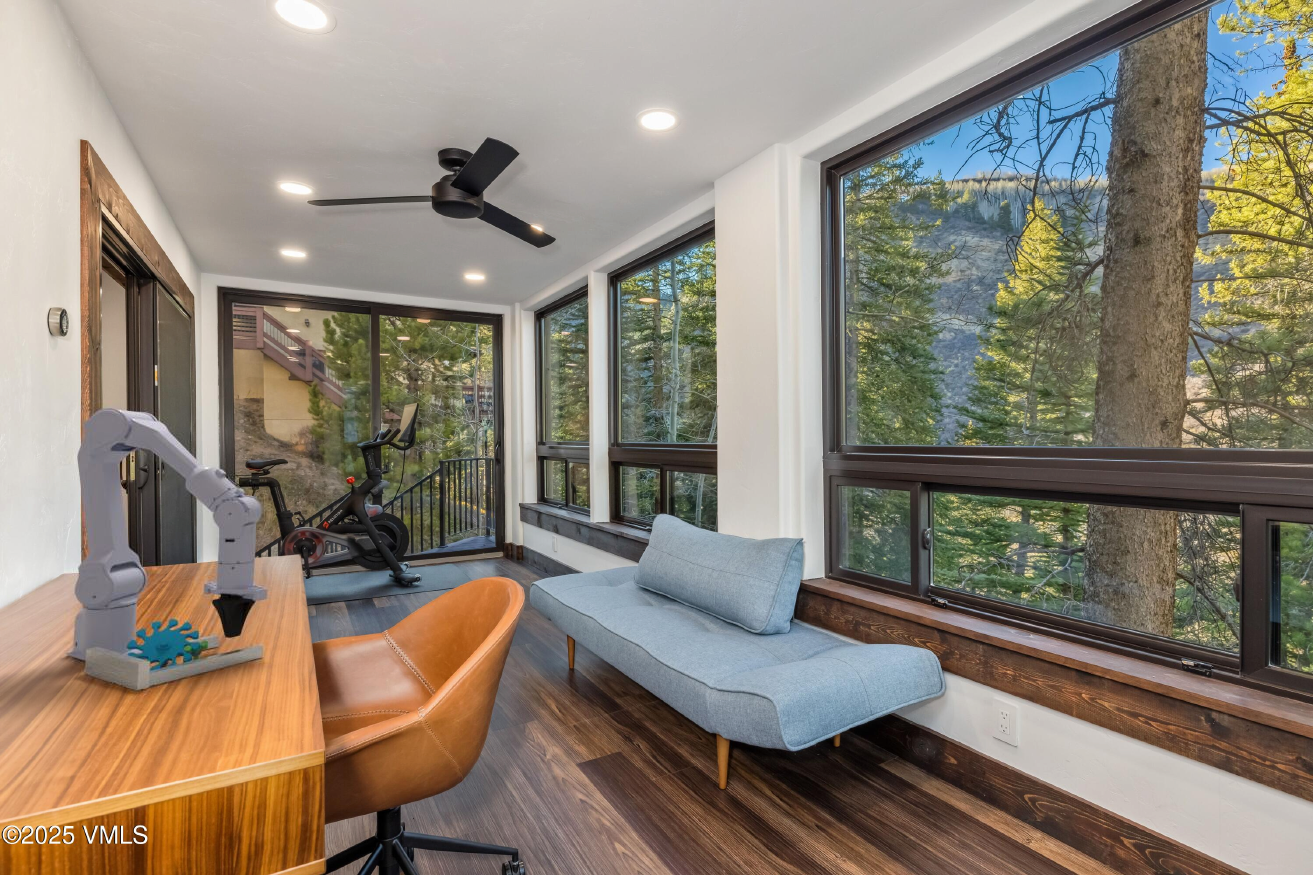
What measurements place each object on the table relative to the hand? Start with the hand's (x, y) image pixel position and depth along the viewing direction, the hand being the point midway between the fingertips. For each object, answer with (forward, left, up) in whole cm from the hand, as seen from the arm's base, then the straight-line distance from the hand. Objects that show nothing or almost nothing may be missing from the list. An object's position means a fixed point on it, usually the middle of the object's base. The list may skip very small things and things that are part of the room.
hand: (232, 636), depth 117 cm
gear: (-1, -10, -3) cm, 11 cm away
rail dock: (0, -9, -3) cm, 9 cm away
